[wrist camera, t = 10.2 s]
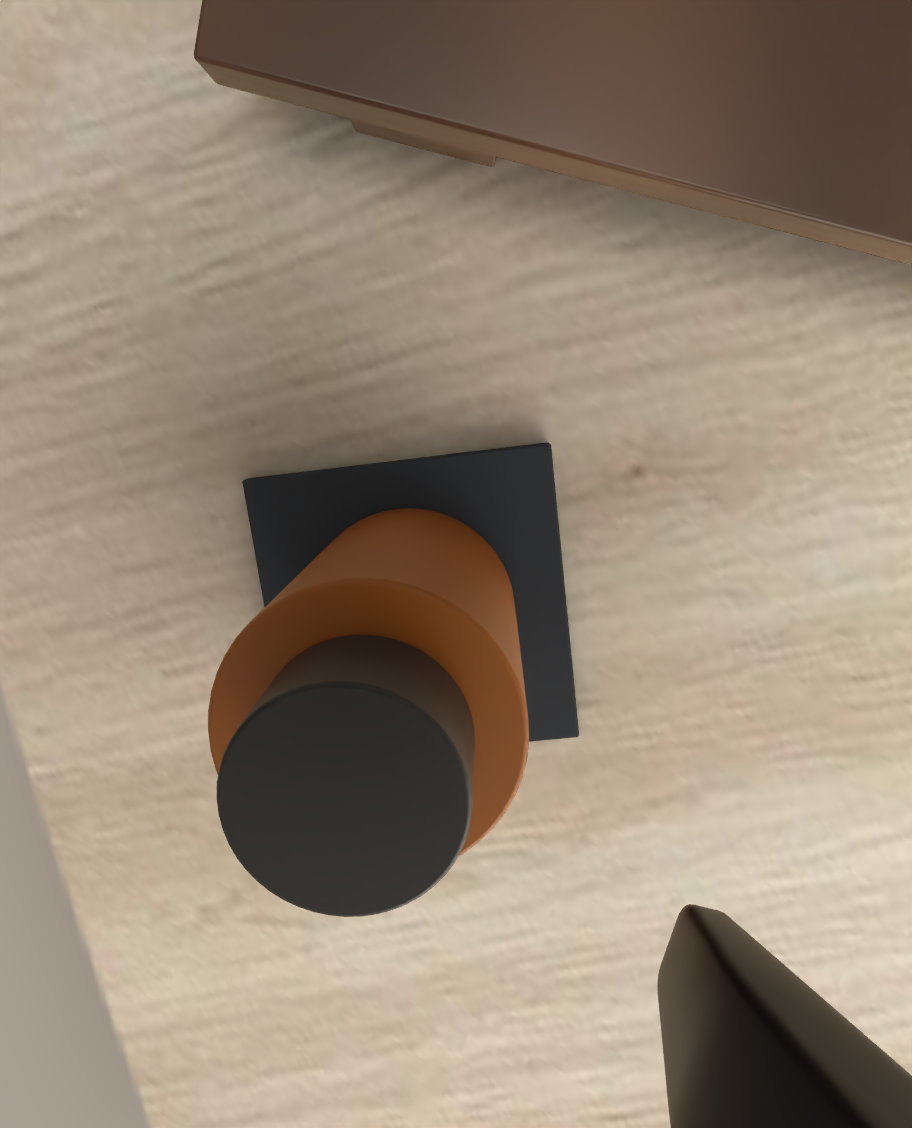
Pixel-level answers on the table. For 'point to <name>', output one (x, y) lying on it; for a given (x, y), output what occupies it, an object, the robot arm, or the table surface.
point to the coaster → (467, 493)
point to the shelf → (617, 95)
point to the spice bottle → (372, 716)
